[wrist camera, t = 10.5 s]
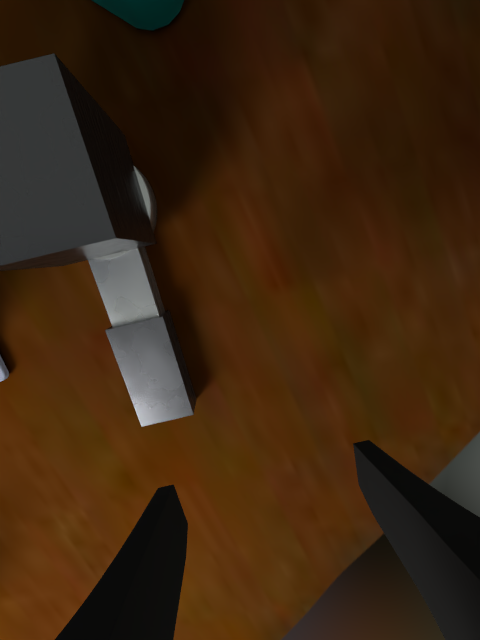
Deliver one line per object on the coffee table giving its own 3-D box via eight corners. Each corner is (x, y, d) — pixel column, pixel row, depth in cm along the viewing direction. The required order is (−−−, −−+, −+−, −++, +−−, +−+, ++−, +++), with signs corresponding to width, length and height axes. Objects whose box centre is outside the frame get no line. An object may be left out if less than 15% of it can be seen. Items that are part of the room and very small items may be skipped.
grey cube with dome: (156, 243, 15) (116, 238, 10) (62, 265, 15) (-33, 273, 10) (124, 134, 14) (54, 53, 8) (20, 159, 14) (-121, 95, 8)
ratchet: (212, 395, 20) (207, 438, 15) (134, 413, 20) (106, 462, 15) (140, 143, 15) (103, 96, 11) (40, 166, 15) (-39, 129, 11)
